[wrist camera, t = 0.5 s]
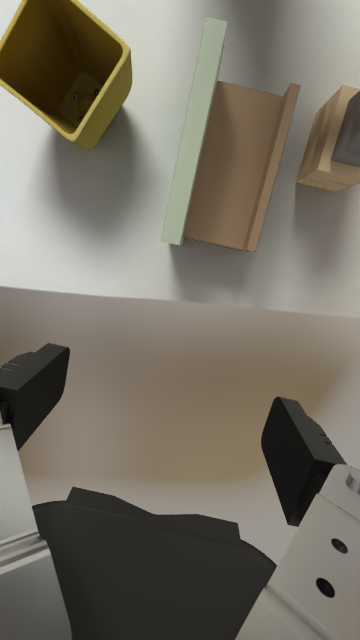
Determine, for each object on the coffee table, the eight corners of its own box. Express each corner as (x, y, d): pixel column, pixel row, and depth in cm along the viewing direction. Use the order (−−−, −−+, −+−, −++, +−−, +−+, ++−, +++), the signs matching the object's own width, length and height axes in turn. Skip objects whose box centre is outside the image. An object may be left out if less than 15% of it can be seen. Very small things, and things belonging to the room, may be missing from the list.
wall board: (200, 91, 33) (205, 16, 22) (279, 110, 33) (322, 44, 22) (168, 242, 37) (160, 241, 26) (239, 259, 37) (260, 264, 26)
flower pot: (147, 99, 33) (132, 46, 25) (101, 169, 35) (72, 143, 26) (79, 41, 32) (39, -35, 24) (35, 116, 34) (-18, 71, 25)
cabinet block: (315, 113, 33) (375, 50, 23) (357, 123, 33) (436, 65, 23) (295, 182, 35) (343, 153, 24) (335, 192, 35) (400, 167, 24)
